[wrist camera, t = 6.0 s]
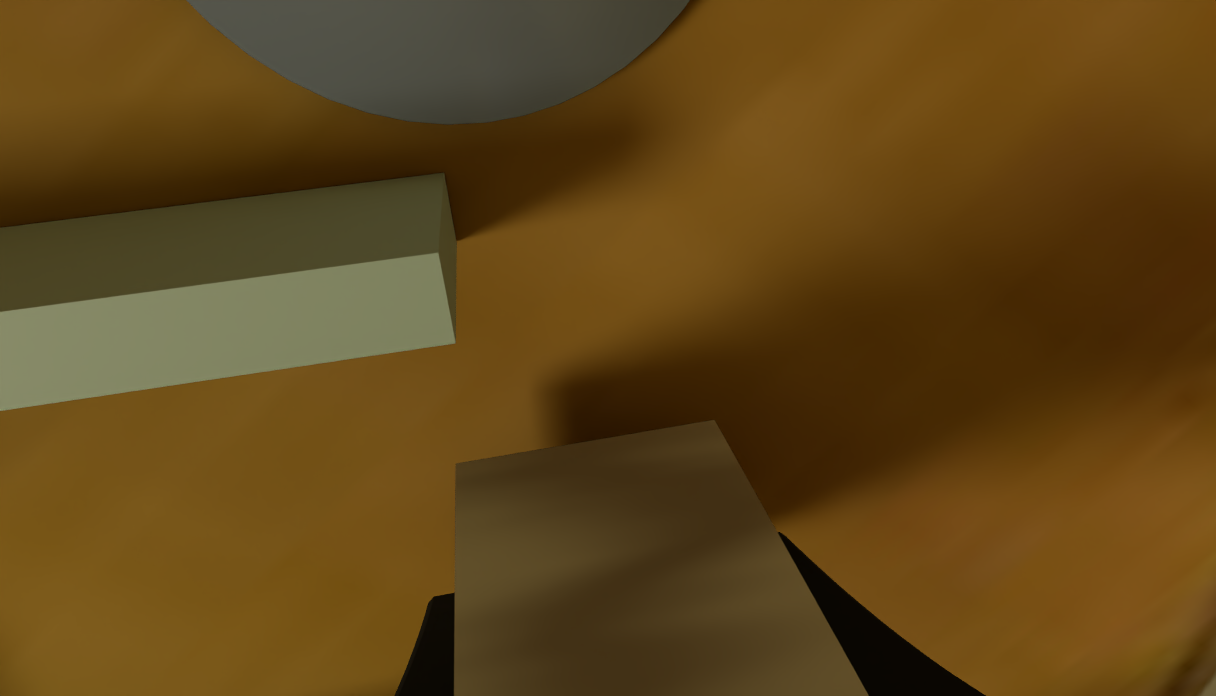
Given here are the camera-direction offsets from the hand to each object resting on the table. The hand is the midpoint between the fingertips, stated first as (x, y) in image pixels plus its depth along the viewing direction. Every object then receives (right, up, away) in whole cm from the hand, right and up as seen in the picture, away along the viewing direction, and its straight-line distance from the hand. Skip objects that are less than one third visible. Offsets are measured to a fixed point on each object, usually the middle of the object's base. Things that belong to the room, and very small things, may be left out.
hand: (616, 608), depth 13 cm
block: (0, +1, +1) cm, 2 cm away
